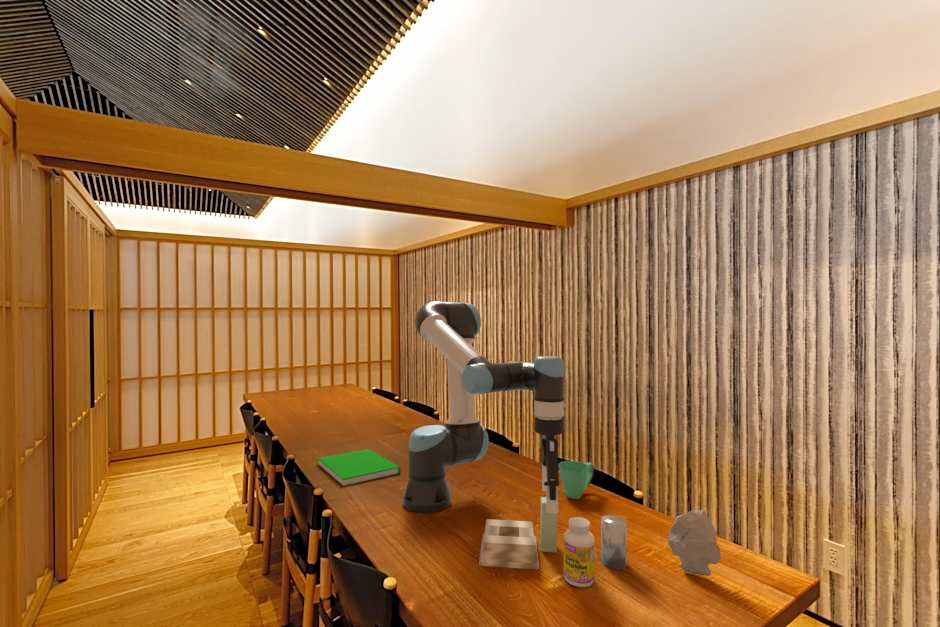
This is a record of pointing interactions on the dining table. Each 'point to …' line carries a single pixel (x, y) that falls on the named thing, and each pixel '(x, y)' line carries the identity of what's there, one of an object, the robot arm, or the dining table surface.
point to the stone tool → (694, 542)
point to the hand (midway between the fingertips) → (549, 501)
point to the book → (358, 466)
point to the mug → (575, 477)
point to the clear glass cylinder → (614, 542)
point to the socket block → (509, 545)
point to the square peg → (548, 529)
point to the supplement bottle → (579, 553)
